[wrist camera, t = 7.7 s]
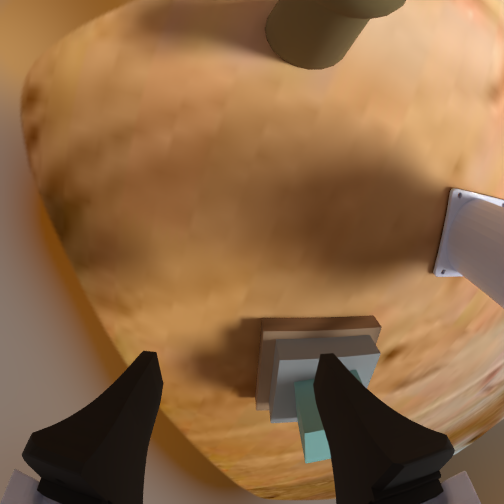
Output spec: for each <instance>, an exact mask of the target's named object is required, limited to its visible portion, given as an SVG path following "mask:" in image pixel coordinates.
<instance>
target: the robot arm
mask: <svg viewBox="0 0 504 504" xmlns="http://www.w3.org/2000/svg"><path fill="white" fill-rule="evenodd" d="M458 193H459V197H458ZM442 270H443V271H442ZM441 271H442V272H441ZM433 273H434V275H435V276H437V277H451V276H464V277H465V278H467V279H468V280H469V281H471V282H472V283H473V284H474V285H476V286H477V287H478V288H479V289H481V290H482V291H483V292H484V293H486V294H487V295H488V296H489V297H491V298H492V299H493V300H494V301H495V302H497V303H498V304H499V305H500V306H501V307H503V308H504V200H502V199H498V198H494V197H491V196H487V195H483V194H478V193H474V192H470V191H466V190H461V189H457V188H452V189H451V191H450V195H449V201H448V207H447V213H446V218H445V223H444V228H443V233H442V238H441V242H440V247H439V251H438V255H437V259H436V263H435V267H434V270H433ZM313 388H314V394H315V400H316V405H317V409H318V412H319V415H320V418H321V422H322V425H323V428H324V431H325V435H326V438H327V441H328V445H329V449H330V455H331V461H332V467H333V474H334V482H335V492H336V503H337V504H481V503H480V501H479V498H478V496H477V494H476V492H475V490H474V487H473V485H472V483H471V481H470V479H469V477H468V475H467V473H466V471H463V472H461V473H459V474H457V475H455V476H453V477H451V478H449V479H447V480H445V481H443V482H442V483H440V481H439V478H440V477H441V474H440V471H439V470H440V469H441V468H442V467H443V466H444V465H445V464H446V463H447V462H448V461H449V460H450V459H451V457H452V456H453V454H454V452H455V450H454V448H453V446H452V444H451V442H450V440H449V439H448V437H447V435H445V434H442V433H439V432H436V431H434V430H431V429H428V428H426V427H424V426H422V425H419V424H417V423H415V422H413V421H411V420H409V419H408V418H406V417H404V416H403V415H401V414H399V413H398V412H396V411H394V410H393V409H391V408H390V407H389V406H387V405H386V404H385V403H383V402H382V401H381V400H379V399H378V398H377V397H376V396H375V395H373V394H372V393H371V392H370V391H369V390H368V389H367V388H366V387H365V386H364V385H363V384H362V383H361V382H360V381H359V380H358V379H357V378H356V377H355V376H354V375H353V374H352V373H351V372H350V371H349V370H348V369H347V368H346V367H345V365H344V364H343V363H342V362H341V361H340V360H339V359H338V358H337V356H336V355H335V354H334V353H328V354H320V358H319V362H318V366H317V371H316V375H315V379H314V383H313ZM162 389H163V380H162V376H161V371H160V367H159V362H158V358H157V353H156V352H150V351H143V352H142V353H141V354H140V355H139V356H138V357H137V358H136V359H135V361H134V362H133V363H132V364H131V365H130V366H129V367H128V368H127V370H126V371H125V372H124V373H123V374H122V375H121V376H120V377H119V378H118V379H117V380H116V381H115V382H114V383H113V384H112V385H111V386H110V387H109V388H108V389H107V390H105V391H104V392H103V393H102V394H101V395H100V396H99V397H98V398H96V399H95V400H94V401H93V402H91V403H90V404H89V405H87V406H86V407H84V408H83V409H81V410H80V411H78V412H77V413H75V414H73V415H72V416H70V417H68V418H66V419H65V420H63V421H61V422H58V423H57V424H54V425H52V426H50V427H47V428H44V429H42V430H39V431H36V432H33V433H32V435H31V436H30V439H29V440H28V443H27V444H26V447H25V449H24V451H23V453H22V457H23V459H24V461H26V463H27V464H28V465H29V466H30V467H31V468H32V469H33V470H34V471H35V472H36V473H37V474H39V476H40V477H41V480H40V482H38V481H37V480H35V479H34V478H32V477H30V476H28V475H26V474H24V473H22V472H20V471H18V470H16V469H14V471H13V474H12V476H11V478H10V481H9V483H8V486H7V488H6V491H5V493H4V496H3V498H2V501H1V504H143V486H144V474H145V464H146V456H147V450H148V445H149V441H150V437H151V433H152V430H153V426H154V423H155V419H156V416H157V412H158V409H159V405H160V401H161V395H162Z"/></svg>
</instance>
